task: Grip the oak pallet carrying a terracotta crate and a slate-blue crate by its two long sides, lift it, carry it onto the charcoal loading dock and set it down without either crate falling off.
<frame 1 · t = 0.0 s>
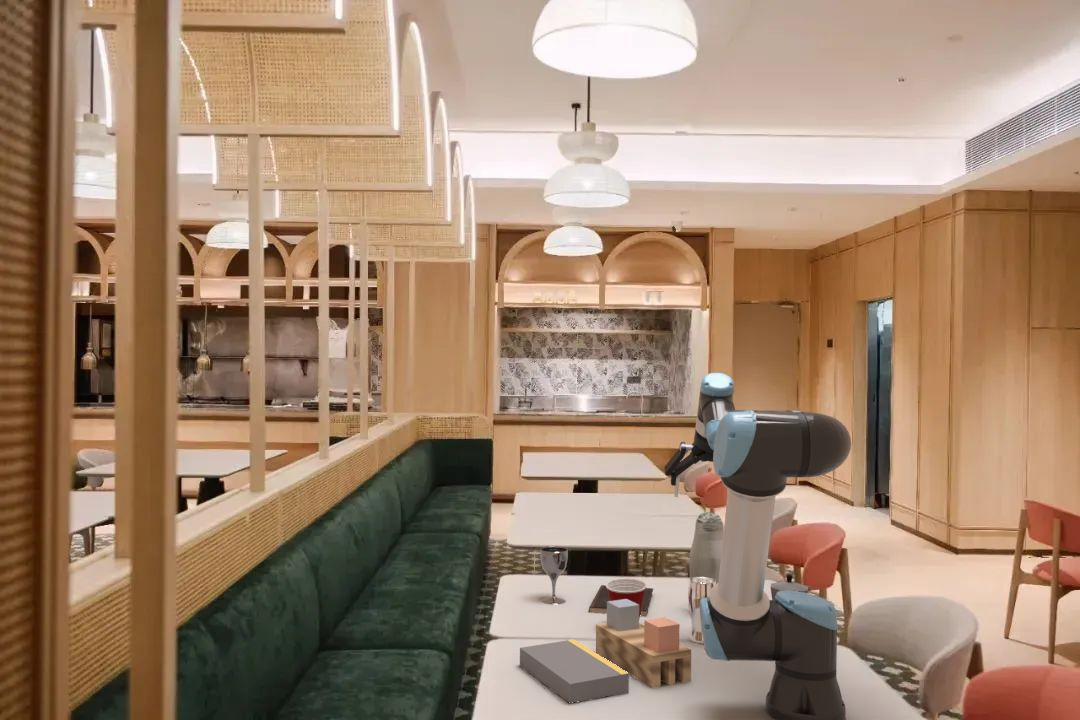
hand: (702, 493, 218), 36 cm above the table, tool tilted 35°, fingers open, 13 cm apart
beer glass: (702, 640, 214), on the table
slate crate: (622, 626, 202), point 7 cm above the table, touching pallet
dock: (571, 678, 187), on the table
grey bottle: (708, 614, 236), on the table
terracotta crate: (661, 647, 188), point 7 cm above the table
plastic cup: (625, 630, 221), on the table
coffeepot: (790, 650, 207), on the table
wine glass: (553, 601, 247), on the table
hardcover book: (622, 605, 246), on the table
pallet: (641, 667, 195), on the table, touching slate crate
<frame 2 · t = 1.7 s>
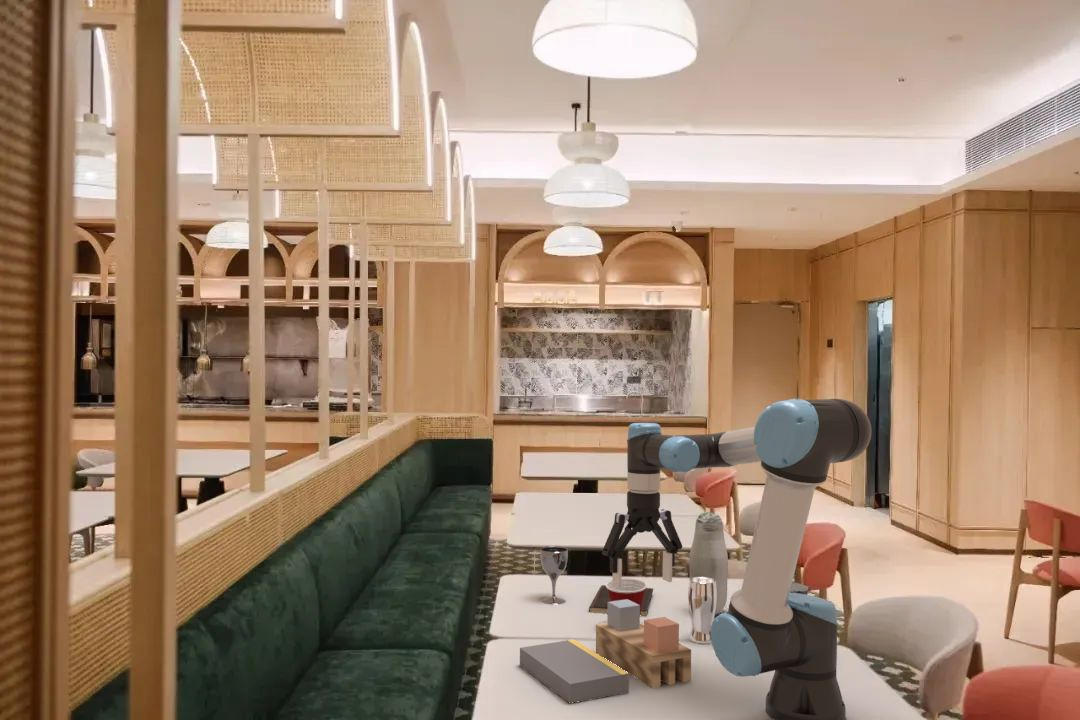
hand: (642, 583, 195), 19 cm above the table, tool pointing down, fingers open, 13 cm apart
terracotta crate: (661, 646, 188), point 7 cm above the table, touching pallet
pallet: (641, 667, 195), on the table, touching slate crate, terracotta crate
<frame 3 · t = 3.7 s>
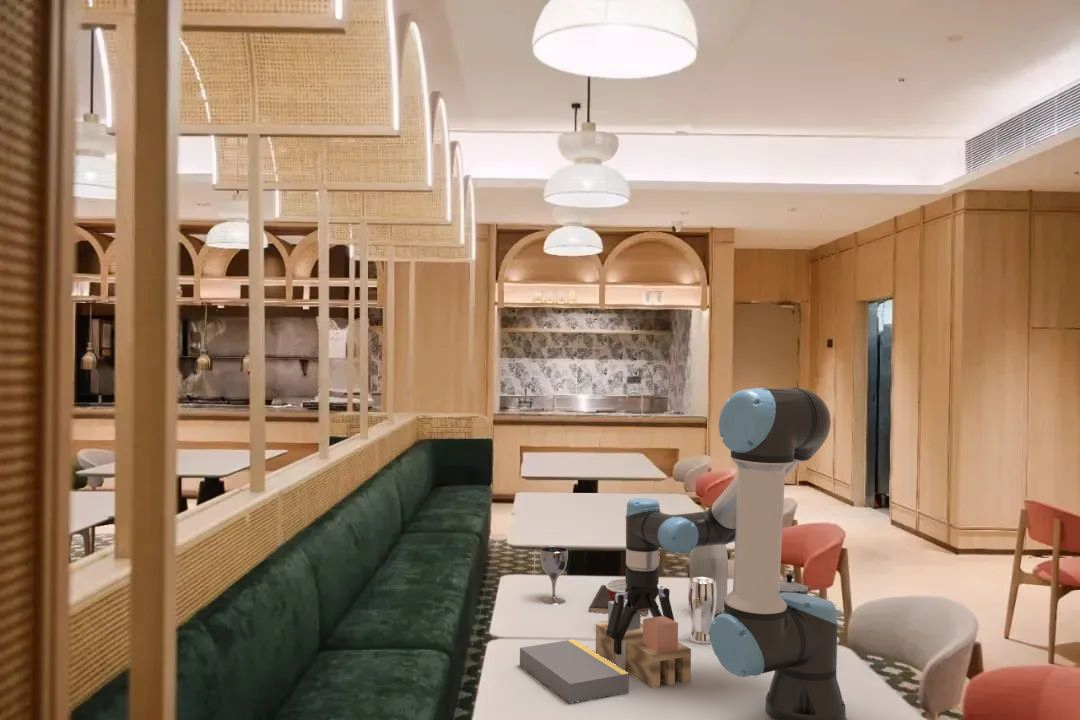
hand: (640, 664, 195), 0 cm above the table, tool pointing down, fingers closed on pallet, 10 cm apart
pallet: (641, 666, 195), on the table, touching gripper, slate crate, terracotta crate
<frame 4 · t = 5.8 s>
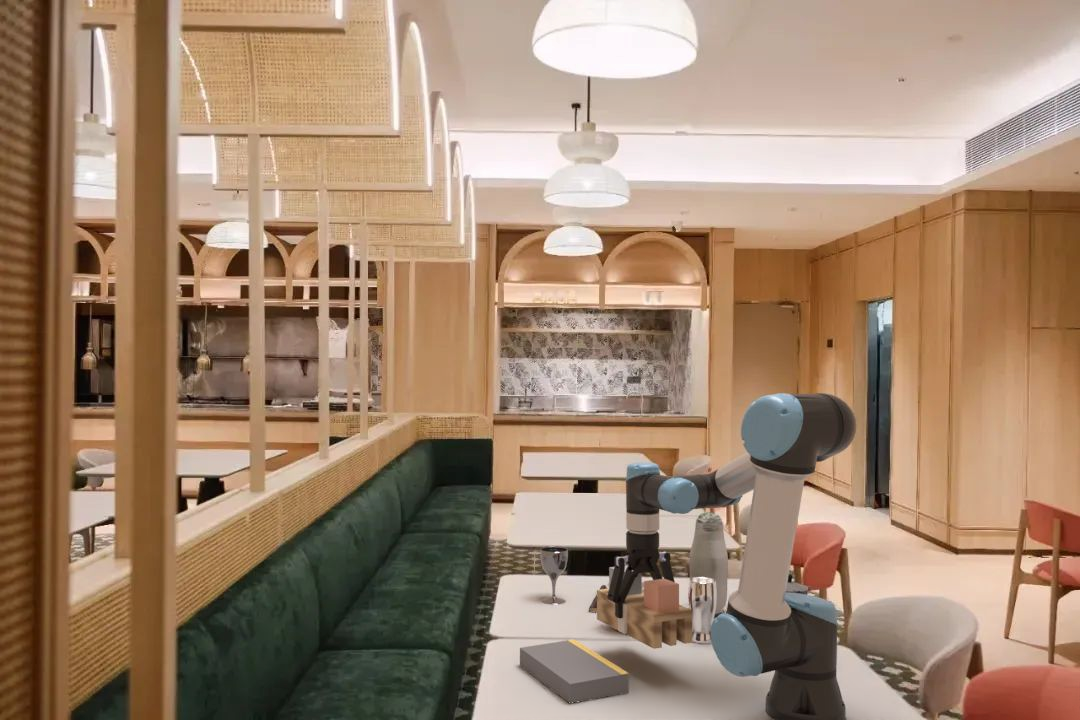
hand: (642, 628, 195), 9 cm above the table, tool pointing down, fingers closed on pallet, 10 cm apart
slate crate: (625, 592, 201), point 15 cm above the table, touching pallet
terracotta crate: (661, 607, 188), point 15 cm above the table, touching pallet
pallet: (642, 630, 195), point 8 cm above the table, touching gripper, slate crate, terracotta crate
everything else where it was.
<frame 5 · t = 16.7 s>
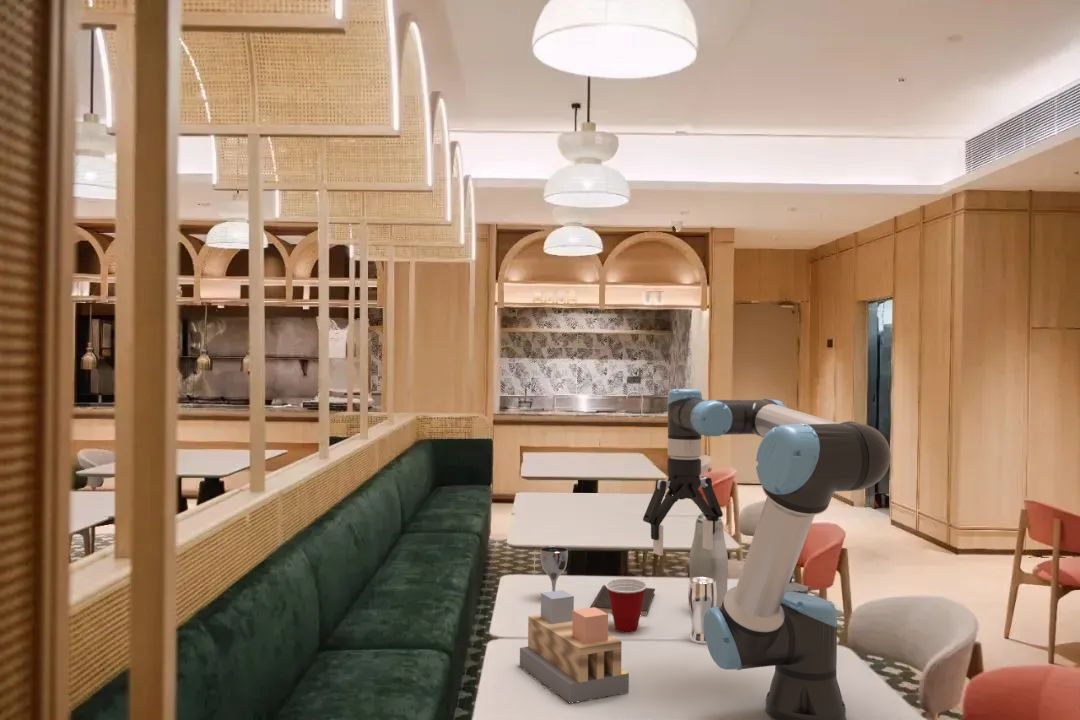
hand: (683, 551, 193), 27 cm above the table, tool pointing down, fingers open, 13 cm apart
slate crate: (557, 618, 194), point 11 cm above the table, touching pallet
terracotta crate: (589, 638, 180), point 11 cm above the table, touching pallet
pallet: (572, 660, 187), point 4 cm above the table, touching dock, slate crate, terracotta crate
everything else where it was.
at the end: pallet inside the target area on the dock (0.1 cm from its centre), point 4.0 cm above the dock's base; terracotta crate inside the target area on the pallet (7.4 cm from its centre), point 7.0 cm above the pallet's base; slate crate inside the target area on the pallet (7.4 cm from its centre), point 7.0 cm above the pallet's base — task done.
